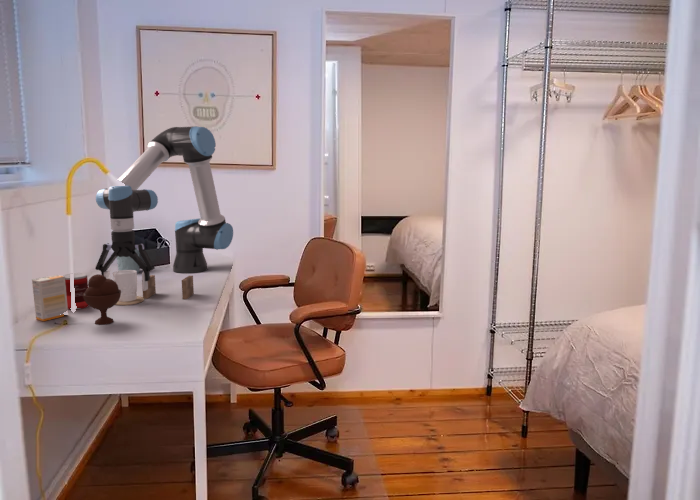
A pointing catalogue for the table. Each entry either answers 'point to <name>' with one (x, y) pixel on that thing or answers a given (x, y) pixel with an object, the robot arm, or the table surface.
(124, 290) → the white cup
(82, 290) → the canned food
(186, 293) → the walnut cradle
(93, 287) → the ice cream bowl
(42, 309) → the supplement box
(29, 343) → the table surface
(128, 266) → the grey green cup
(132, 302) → the cork coaster
